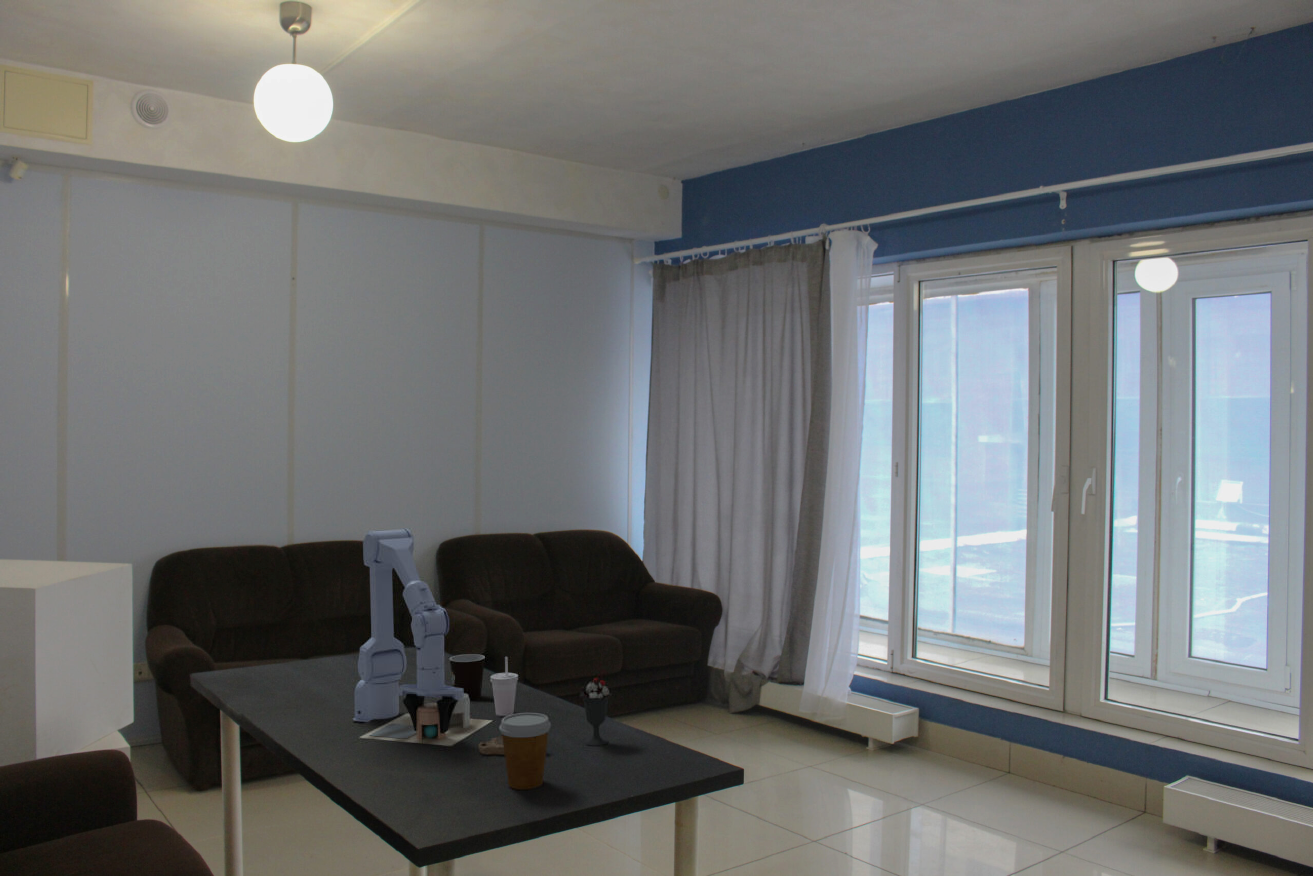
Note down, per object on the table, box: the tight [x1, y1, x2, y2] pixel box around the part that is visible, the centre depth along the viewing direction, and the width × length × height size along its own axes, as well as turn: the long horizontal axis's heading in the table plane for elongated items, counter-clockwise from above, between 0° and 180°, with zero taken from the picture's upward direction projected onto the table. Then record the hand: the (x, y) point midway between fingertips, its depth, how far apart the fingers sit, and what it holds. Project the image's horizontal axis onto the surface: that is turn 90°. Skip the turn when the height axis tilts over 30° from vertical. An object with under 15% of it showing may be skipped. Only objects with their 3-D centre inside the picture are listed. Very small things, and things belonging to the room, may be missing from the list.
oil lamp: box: [478, 735, 505, 756], centre depth 199 cm, size 13×8×5 cm, turn 105°
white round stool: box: [449, 693, 471, 728], centre depth 216 cm, size 6×6×7 cm
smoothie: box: [490, 656, 519, 717], centre depth 226 cm, size 6×6×14 cm
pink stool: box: [416, 702, 446, 741], centre depth 208 cm, size 6×6×7 cm
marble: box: [424, 724, 438, 738], centre depth 208 cm, size 3×3×3 cm
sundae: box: [579, 669, 612, 747], centre depth 207 cm, size 7×7×15 cm
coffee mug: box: [449, 653, 486, 702], centre depth 245 cm, size 12×9×10 cm
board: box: [358, 713, 493, 747], centre depth 214 cm, size 22×19×1 cm
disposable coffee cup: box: [498, 712, 552, 790], centre depth 182 cm, size 10×10×12 cm
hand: (431, 730), depth 208 cm, fingers closed on pink stool, 6 cm apart
